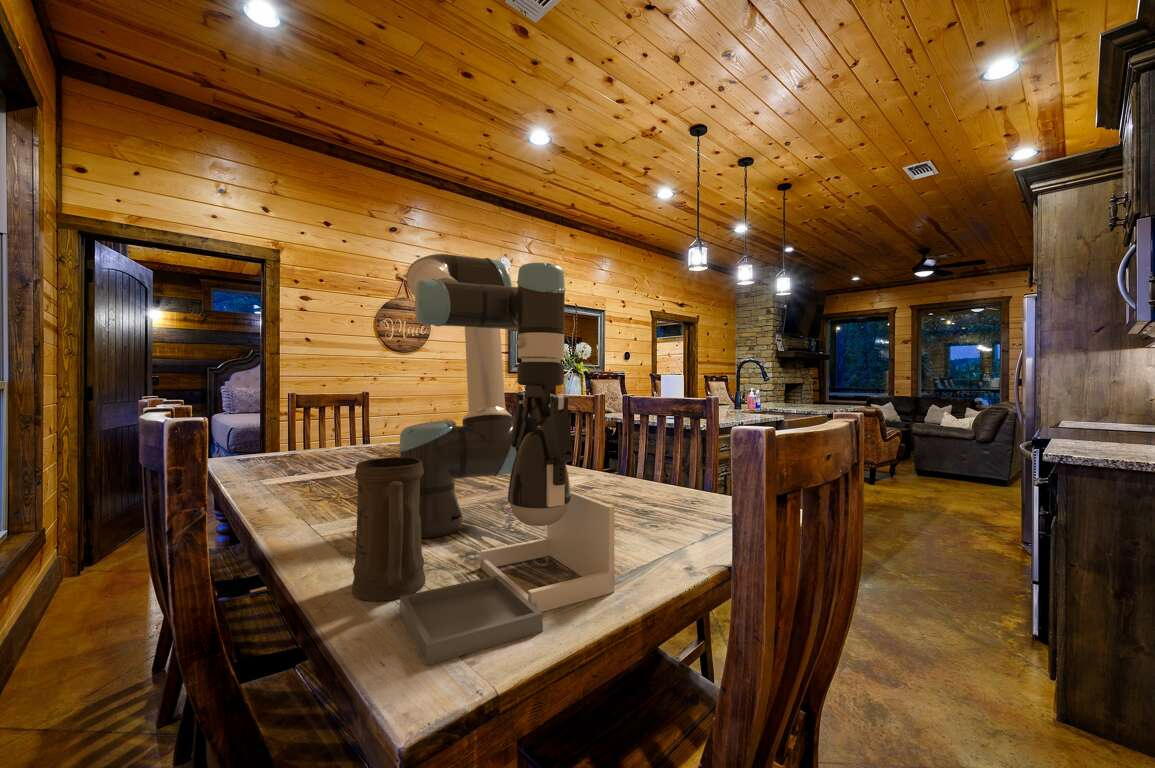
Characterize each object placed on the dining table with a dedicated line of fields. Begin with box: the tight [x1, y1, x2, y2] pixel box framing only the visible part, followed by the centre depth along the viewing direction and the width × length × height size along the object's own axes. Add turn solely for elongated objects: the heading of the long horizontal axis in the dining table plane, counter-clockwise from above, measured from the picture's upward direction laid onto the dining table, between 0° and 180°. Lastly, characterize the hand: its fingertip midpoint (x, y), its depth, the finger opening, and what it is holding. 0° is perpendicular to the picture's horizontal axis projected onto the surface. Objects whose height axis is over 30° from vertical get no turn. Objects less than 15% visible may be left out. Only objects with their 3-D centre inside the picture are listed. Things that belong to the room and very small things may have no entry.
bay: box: [479, 490, 615, 613], centre depth 78 cm, size 20×14×13 cm
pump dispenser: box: [507, 427, 572, 527], centre depth 78 cm, size 10×10×15 cm
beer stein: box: [351, 456, 427, 602], centre depth 73 cm, size 15×11×20 cm
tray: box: [399, 575, 544, 667], centre depth 64 cm, size 15×15×2 cm
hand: (539, 497), depth 78 cm, fingers closed on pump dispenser, 10 cm apart
